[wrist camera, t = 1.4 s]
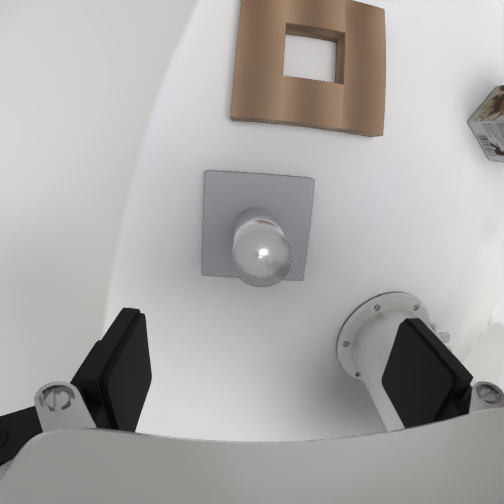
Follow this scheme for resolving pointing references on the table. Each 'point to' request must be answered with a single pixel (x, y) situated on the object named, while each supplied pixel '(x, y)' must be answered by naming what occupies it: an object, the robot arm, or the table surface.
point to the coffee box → (490, 125)
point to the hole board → (307, 90)
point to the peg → (260, 248)
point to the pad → (247, 196)
